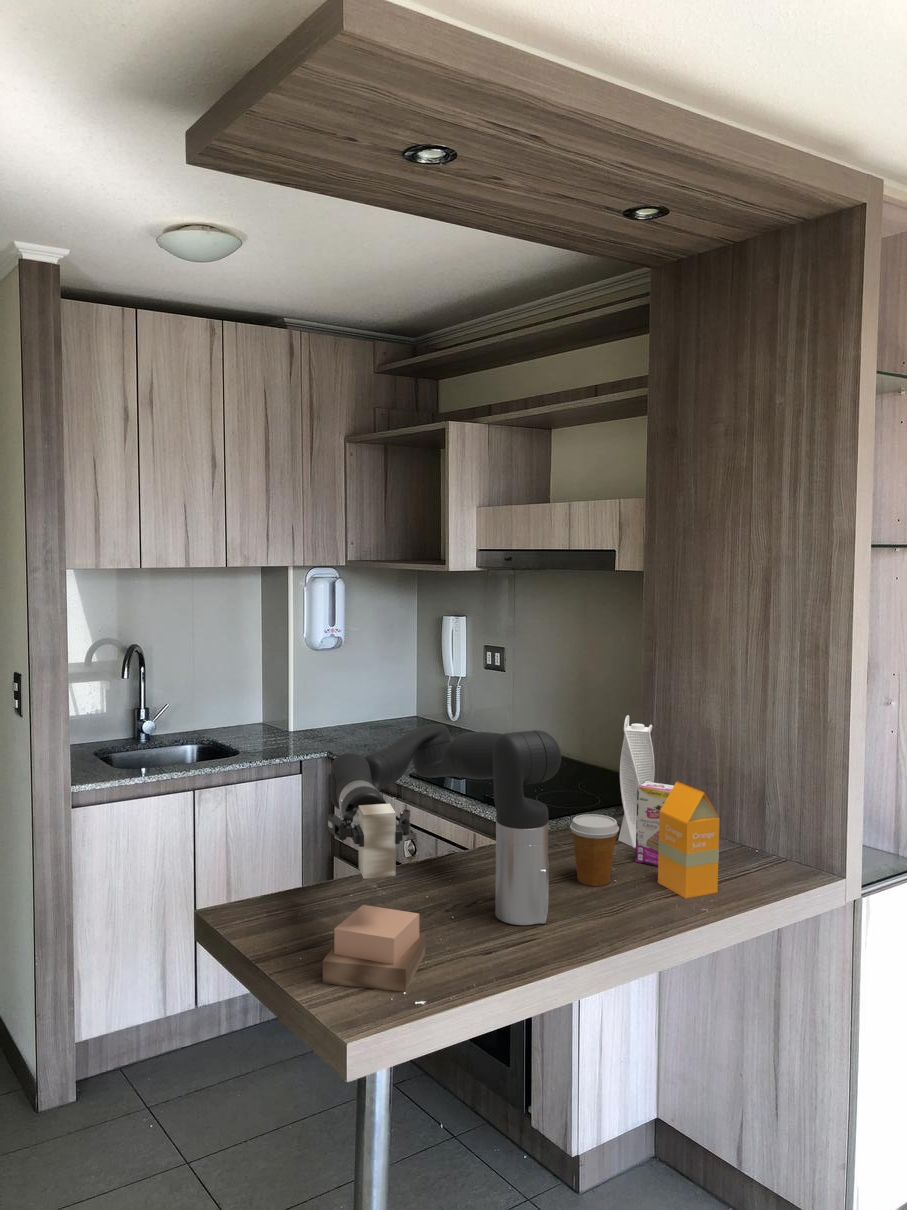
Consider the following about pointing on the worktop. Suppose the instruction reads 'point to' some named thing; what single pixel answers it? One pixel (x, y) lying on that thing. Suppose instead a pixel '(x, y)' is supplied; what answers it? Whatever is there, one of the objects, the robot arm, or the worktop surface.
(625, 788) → the skyscraper
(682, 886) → the orange juice
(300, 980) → the worktop surface
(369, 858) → the cream block
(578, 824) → the disposable coffee cup
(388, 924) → the tower top block
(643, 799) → the candy bar box
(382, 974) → the tower base block
